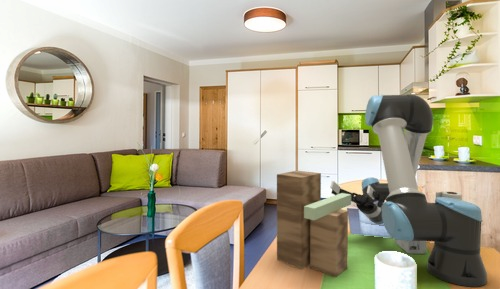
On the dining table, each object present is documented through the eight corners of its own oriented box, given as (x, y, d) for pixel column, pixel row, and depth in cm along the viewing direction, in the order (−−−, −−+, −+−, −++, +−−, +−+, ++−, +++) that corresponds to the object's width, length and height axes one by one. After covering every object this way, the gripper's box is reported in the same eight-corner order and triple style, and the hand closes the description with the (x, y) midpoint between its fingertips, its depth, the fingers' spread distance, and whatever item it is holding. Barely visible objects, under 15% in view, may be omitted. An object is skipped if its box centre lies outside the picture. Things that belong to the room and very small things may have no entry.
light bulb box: (426, 254, 105) (427, 224, 104) (408, 254, 105) (408, 224, 104) (411, 242, 115) (411, 215, 115) (393, 242, 116) (394, 215, 115)
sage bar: (314, 220, 84) (314, 208, 84) (304, 217, 87) (304, 206, 86) (351, 204, 101) (351, 194, 101) (341, 202, 104) (341, 193, 104)
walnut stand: (330, 280, 87) (331, 181, 85) (277, 259, 101) (276, 174, 99) (348, 266, 95) (349, 176, 94) (296, 249, 110) (296, 170, 108)
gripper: (399, 221, 109) (383, 202, 95) (337, 208, 126) (316, 191, 112) (403, 202, 111) (387, 180, 97) (341, 192, 128) (321, 173, 114)
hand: (349, 186), depth 104 cm, fingers open, 13 cm apart
